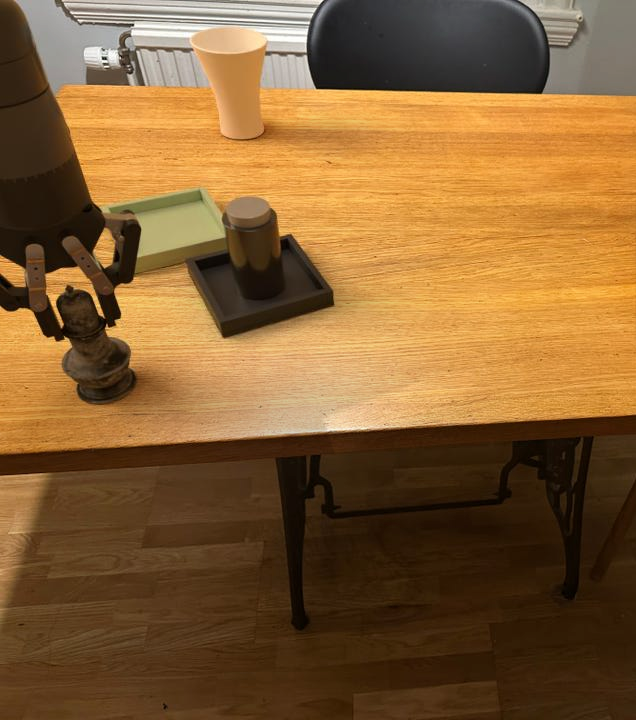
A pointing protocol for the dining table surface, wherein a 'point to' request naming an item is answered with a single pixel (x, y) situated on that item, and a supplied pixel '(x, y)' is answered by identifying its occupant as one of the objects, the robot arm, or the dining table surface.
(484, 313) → the dining table surface
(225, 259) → the dark tray
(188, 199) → the light tray
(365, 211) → the dining table surface
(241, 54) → the cup
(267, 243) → the brown jar with lid
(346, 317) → the dining table surface
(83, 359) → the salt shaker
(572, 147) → the dining table surface
